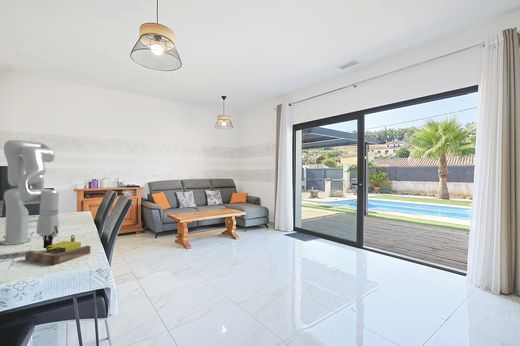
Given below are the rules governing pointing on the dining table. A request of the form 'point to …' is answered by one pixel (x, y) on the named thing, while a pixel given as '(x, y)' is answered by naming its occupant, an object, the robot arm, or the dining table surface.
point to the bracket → (65, 245)
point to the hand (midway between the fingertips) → (47, 247)
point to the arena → (56, 255)
